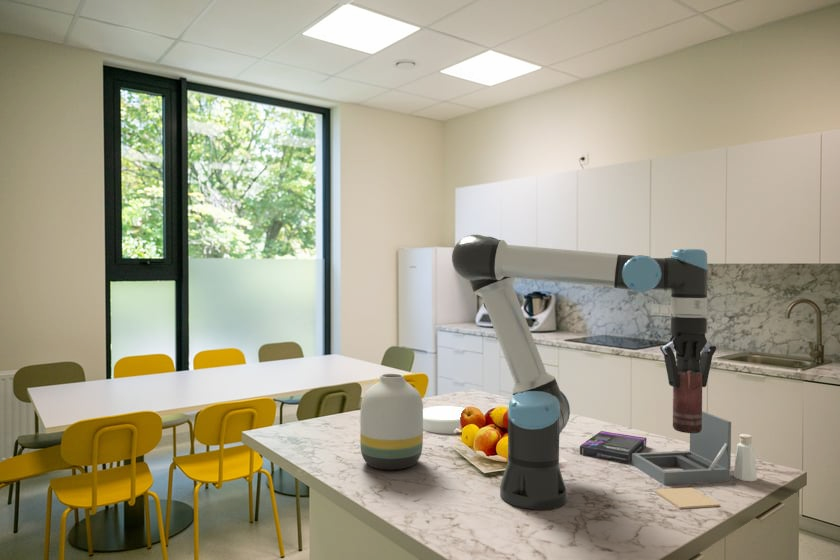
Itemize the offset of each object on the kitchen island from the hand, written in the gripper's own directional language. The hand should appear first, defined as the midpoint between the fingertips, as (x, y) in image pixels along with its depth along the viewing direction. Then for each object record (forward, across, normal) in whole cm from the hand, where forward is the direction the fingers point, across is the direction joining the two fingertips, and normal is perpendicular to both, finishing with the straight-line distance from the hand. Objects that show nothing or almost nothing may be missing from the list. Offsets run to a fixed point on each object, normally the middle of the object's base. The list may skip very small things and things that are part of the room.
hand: (687, 417), depth 130 cm
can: (+3, 0, 0) cm, 3 cm away
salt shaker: (+19, +24, +10) cm, 32 cm away
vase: (+19, -65, +33) cm, 75 cm away
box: (+20, +1, +36) cm, 41 cm away
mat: (+19, 0, 0) cm, 19 cm away
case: (+19, +9, +16) cm, 26 cm away
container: (+19, -42, +69) cm, 83 cm away
